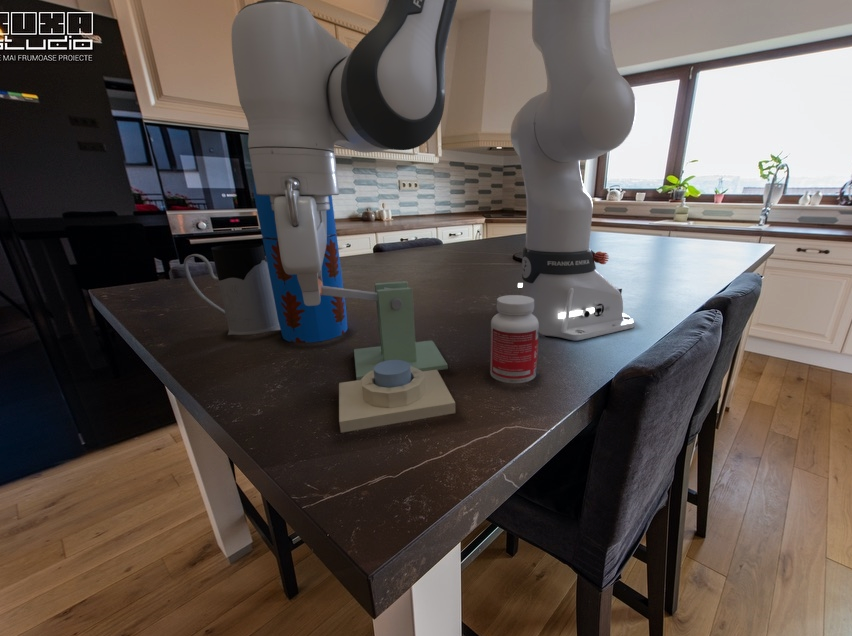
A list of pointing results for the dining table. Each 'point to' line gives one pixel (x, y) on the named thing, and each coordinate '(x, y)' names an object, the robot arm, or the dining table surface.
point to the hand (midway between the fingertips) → (314, 296)
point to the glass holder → (242, 288)
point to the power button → (392, 373)
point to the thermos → (291, 310)
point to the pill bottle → (514, 340)
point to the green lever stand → (397, 334)
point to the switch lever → (347, 292)
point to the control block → (392, 401)
